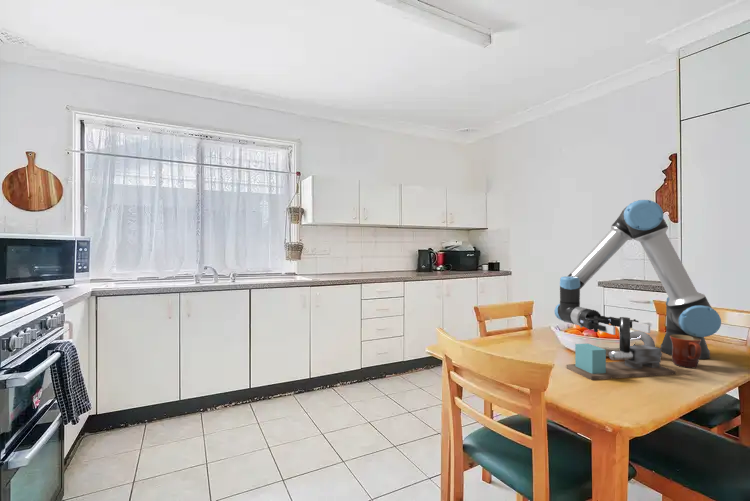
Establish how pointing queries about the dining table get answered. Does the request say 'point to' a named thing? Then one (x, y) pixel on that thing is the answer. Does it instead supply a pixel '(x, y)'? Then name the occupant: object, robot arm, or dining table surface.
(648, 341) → the grey curved piece
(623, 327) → the slip tube
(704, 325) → the robot arm
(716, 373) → the dining table surface
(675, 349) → the mug
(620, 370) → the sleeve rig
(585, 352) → the socket block
